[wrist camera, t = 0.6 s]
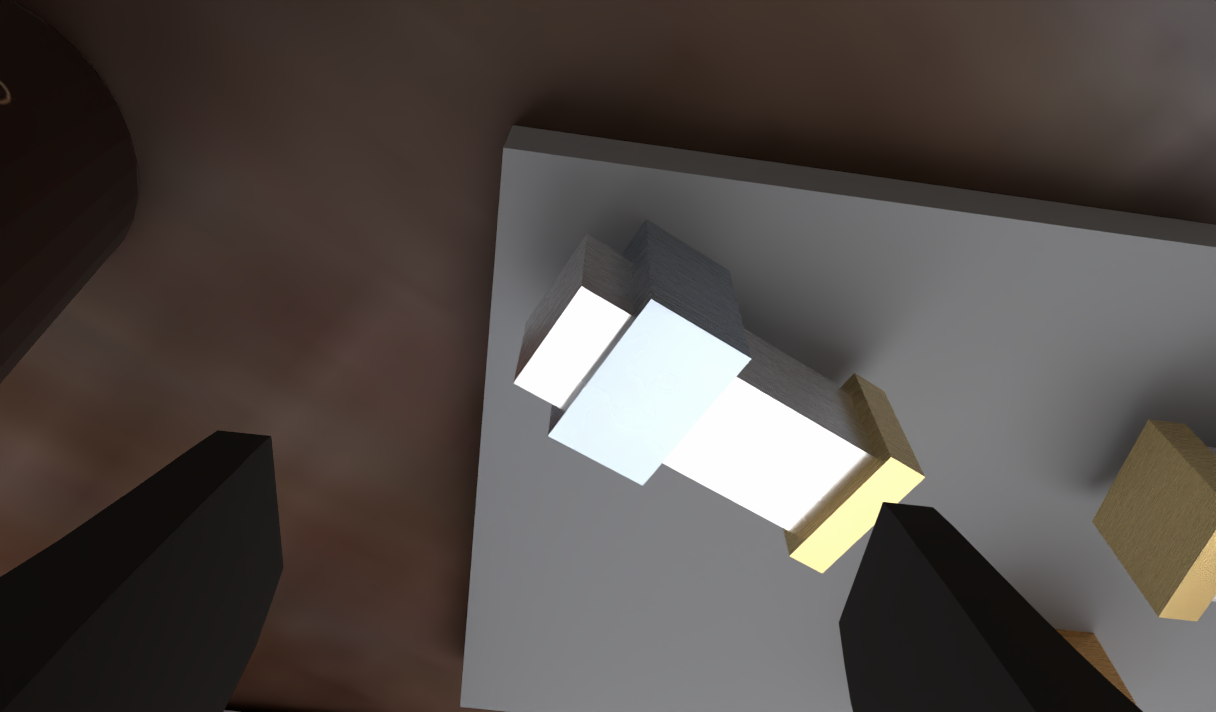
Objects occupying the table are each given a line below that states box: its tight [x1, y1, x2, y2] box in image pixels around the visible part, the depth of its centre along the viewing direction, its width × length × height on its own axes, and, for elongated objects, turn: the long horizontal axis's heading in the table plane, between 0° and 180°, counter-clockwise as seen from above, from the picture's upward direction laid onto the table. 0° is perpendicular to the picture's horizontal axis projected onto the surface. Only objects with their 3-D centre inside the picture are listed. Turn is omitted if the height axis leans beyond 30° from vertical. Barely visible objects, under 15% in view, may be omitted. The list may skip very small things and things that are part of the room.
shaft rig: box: [514, 219, 1216, 622], centre depth 17 cm, size 6×20×4 cm, turn 82°
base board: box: [460, 125, 1216, 712], centre depth 21 cm, size 16×22×2 cm
